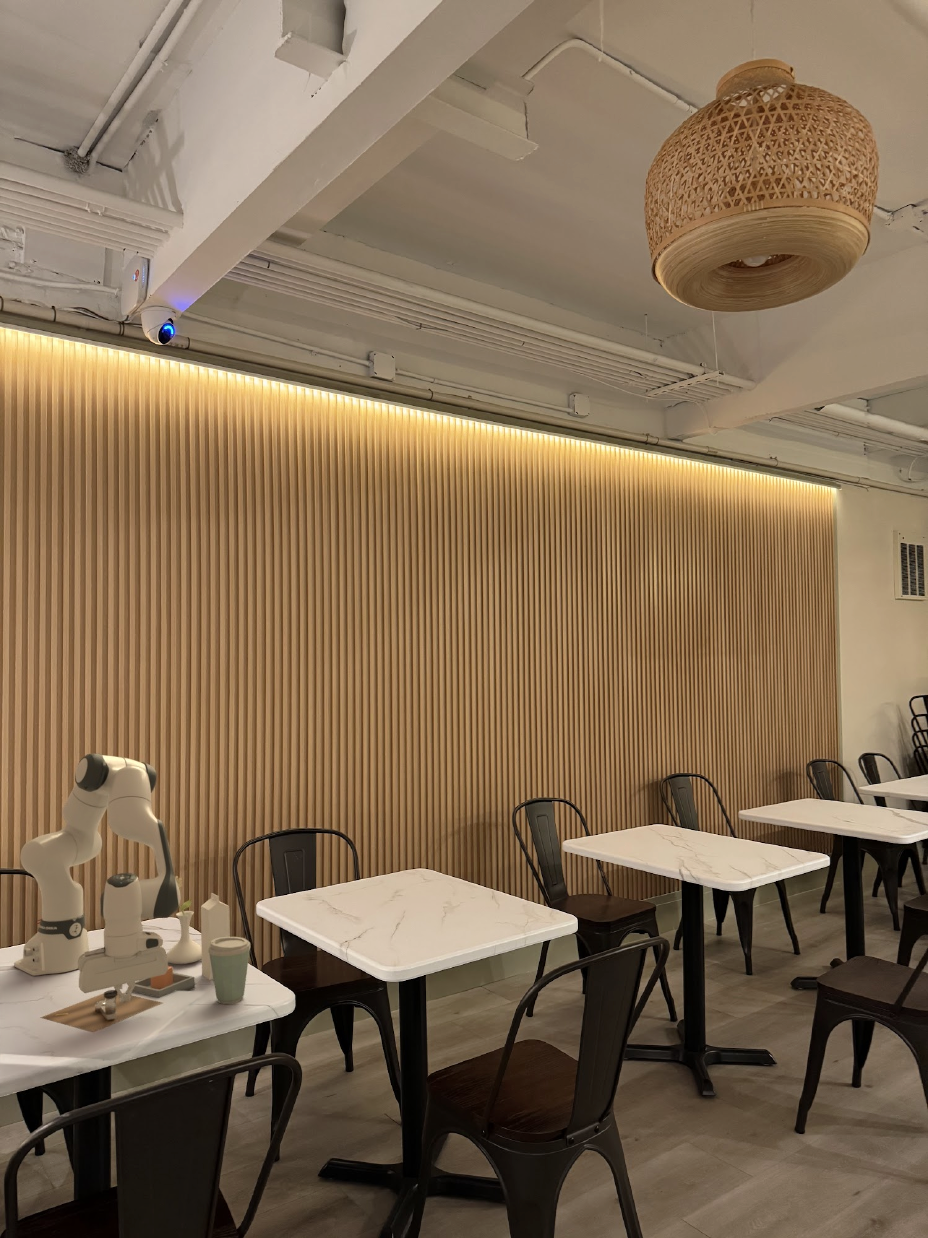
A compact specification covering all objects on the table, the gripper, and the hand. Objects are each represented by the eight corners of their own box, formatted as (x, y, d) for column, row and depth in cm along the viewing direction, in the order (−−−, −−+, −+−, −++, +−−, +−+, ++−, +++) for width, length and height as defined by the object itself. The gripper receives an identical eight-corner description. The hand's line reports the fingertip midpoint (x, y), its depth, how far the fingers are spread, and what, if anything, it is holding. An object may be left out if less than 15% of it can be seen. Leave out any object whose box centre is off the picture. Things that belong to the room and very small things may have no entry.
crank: (93, 1008, 216) (93, 983, 216) (108, 1005, 218) (108, 979, 218) (104, 1022, 207) (104, 996, 207) (120, 1018, 209) (119, 992, 209)
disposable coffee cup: (249, 990, 230) (248, 931, 231) (254, 1003, 220) (253, 942, 221) (207, 996, 227) (206, 937, 228) (211, 1011, 217) (210, 949, 218)
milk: (209, 980, 239) (207, 898, 240) (201, 975, 244) (200, 894, 245) (231, 975, 242) (229, 894, 244) (222, 970, 247) (221, 890, 249)
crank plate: (40, 1023, 212) (40, 1017, 212) (111, 996, 229) (111, 990, 229) (93, 1039, 202) (93, 1031, 202) (163, 1009, 219) (163, 1002, 219)
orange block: (150, 991, 229) (150, 971, 230) (159, 985, 233) (158, 966, 234) (164, 991, 229) (164, 972, 229) (172, 986, 232) (172, 966, 233)
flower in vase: (197, 952, 264) (196, 868, 266) (211, 961, 255) (210, 874, 257) (154, 962, 256) (153, 875, 258) (166, 972, 247) (165, 882, 249)
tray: (129, 996, 229) (129, 984, 229) (164, 982, 239) (164, 970, 239) (159, 1003, 223) (159, 991, 223) (194, 988, 233) (194, 977, 233)
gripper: (80, 956, 204) (81, 1017, 203) (169, 937, 216) (170, 994, 215) (74, 950, 209) (75, 1009, 208) (161, 931, 221) (163, 987, 220)
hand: (124, 1001), depth 212 cm, fingers closed
